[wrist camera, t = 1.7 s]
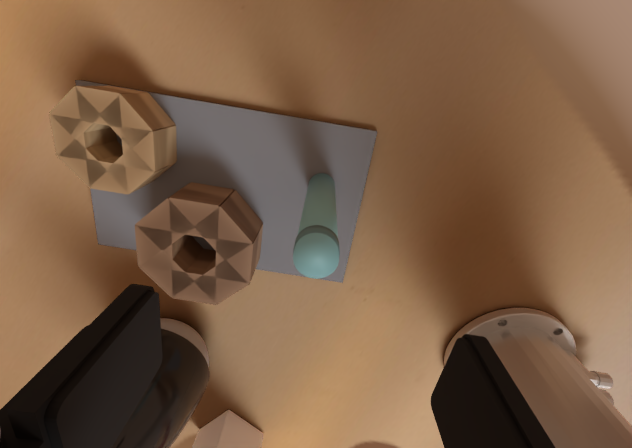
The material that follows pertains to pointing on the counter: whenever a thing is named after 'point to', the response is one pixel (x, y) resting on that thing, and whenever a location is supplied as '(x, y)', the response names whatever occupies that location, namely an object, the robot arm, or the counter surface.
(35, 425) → the robot arm
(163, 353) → the pump dispenser
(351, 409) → the counter surface
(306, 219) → the teal rounded rod
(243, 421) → the milk
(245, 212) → the bead
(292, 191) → the mat
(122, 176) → the oak bead
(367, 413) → the counter surface
